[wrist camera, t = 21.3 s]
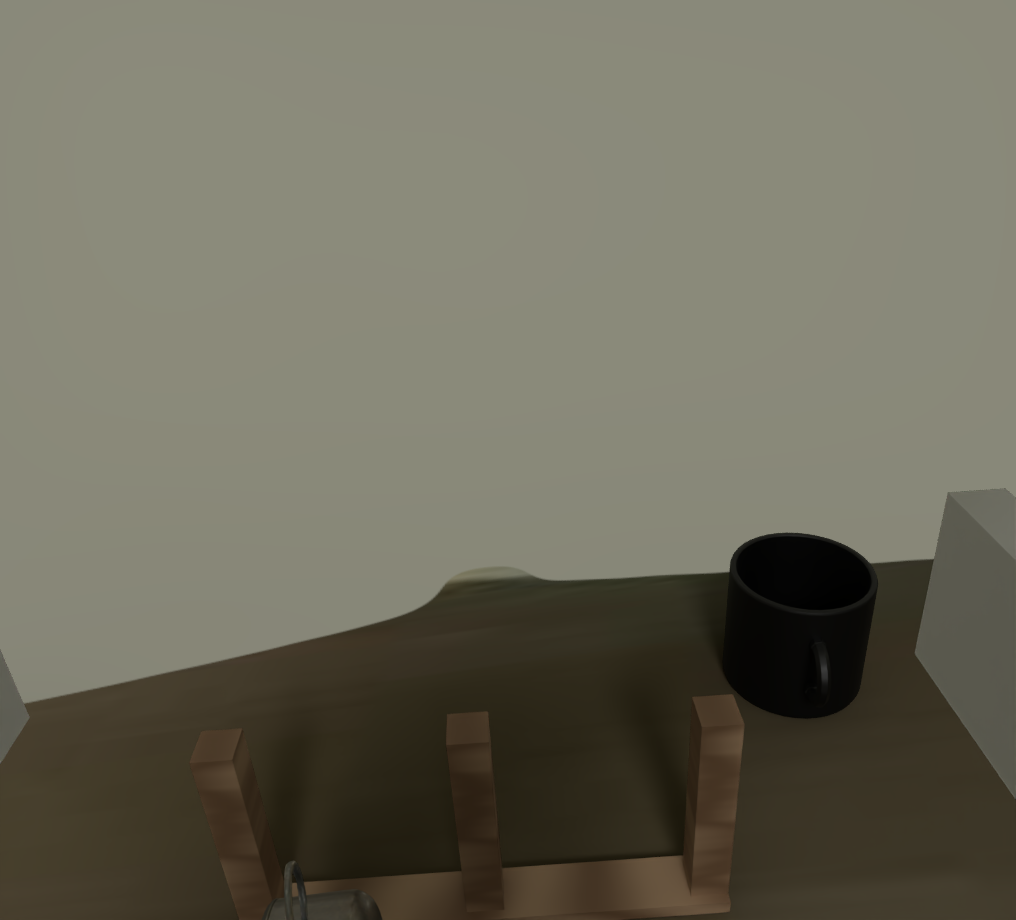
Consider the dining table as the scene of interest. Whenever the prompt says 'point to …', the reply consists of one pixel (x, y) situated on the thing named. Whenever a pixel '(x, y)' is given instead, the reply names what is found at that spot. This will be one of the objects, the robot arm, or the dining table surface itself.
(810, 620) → the mug
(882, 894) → the dining table surface
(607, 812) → the dining table surface
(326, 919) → the alarm clock
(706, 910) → the slalom posts
